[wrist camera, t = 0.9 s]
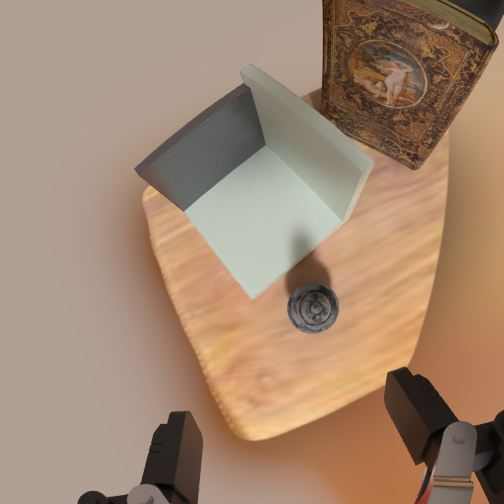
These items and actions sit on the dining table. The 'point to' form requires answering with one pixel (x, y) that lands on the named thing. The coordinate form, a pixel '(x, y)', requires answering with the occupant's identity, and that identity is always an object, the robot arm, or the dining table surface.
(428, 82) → the book
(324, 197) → the shelf
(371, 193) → the dining table surface
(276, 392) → the dining table surface
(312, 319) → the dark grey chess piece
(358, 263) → the dining table surface
